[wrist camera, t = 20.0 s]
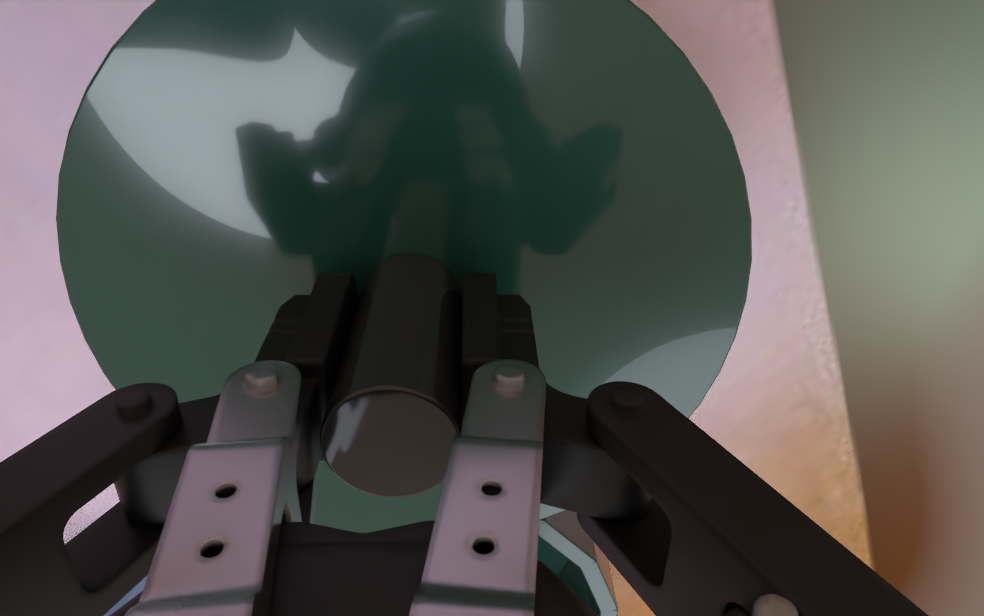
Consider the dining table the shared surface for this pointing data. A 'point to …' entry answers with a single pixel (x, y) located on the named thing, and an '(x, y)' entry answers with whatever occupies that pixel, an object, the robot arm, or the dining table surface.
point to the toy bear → (128, 596)
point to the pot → (577, 561)
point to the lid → (403, 210)
